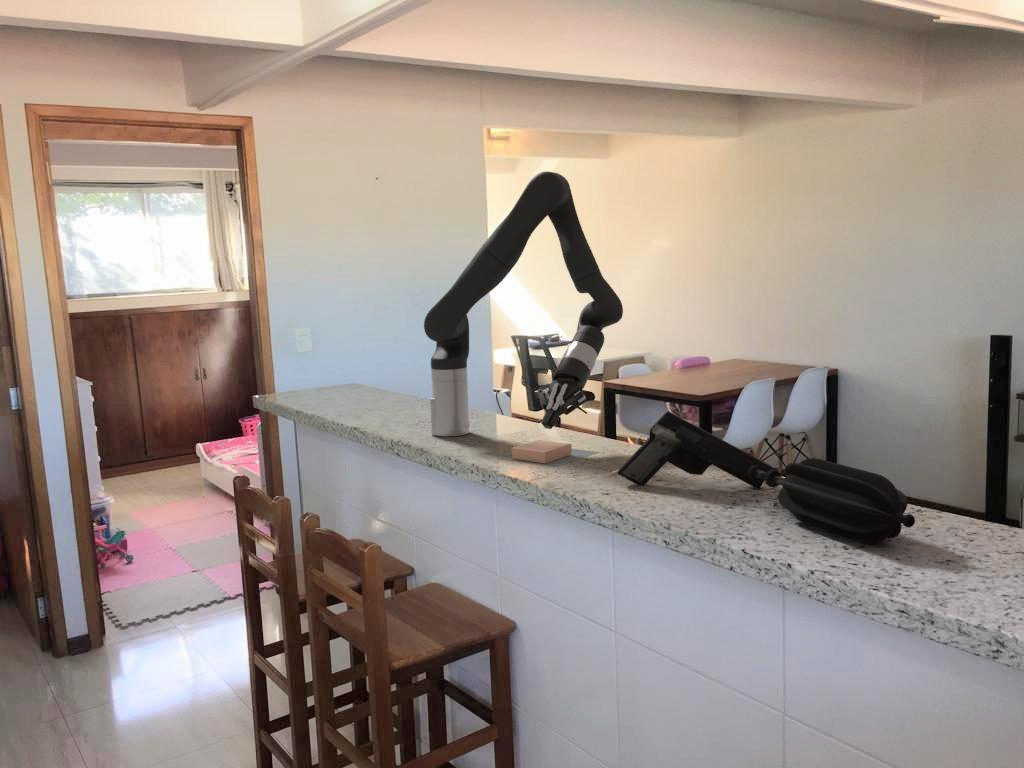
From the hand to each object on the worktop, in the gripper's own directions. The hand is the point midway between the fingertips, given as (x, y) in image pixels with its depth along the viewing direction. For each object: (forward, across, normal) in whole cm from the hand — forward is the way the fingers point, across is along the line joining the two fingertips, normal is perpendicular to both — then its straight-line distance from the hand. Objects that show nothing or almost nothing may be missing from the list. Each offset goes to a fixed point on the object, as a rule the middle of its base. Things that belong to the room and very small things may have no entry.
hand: (546, 426), depth 186 cm
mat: (+5, 0, +5) cm, 7 cm away
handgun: (+10, +39, 0) cm, 40 cm away
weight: (+17, +66, -7) cm, 69 cm away
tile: (+2, 0, +6) cm, 6 cm away
